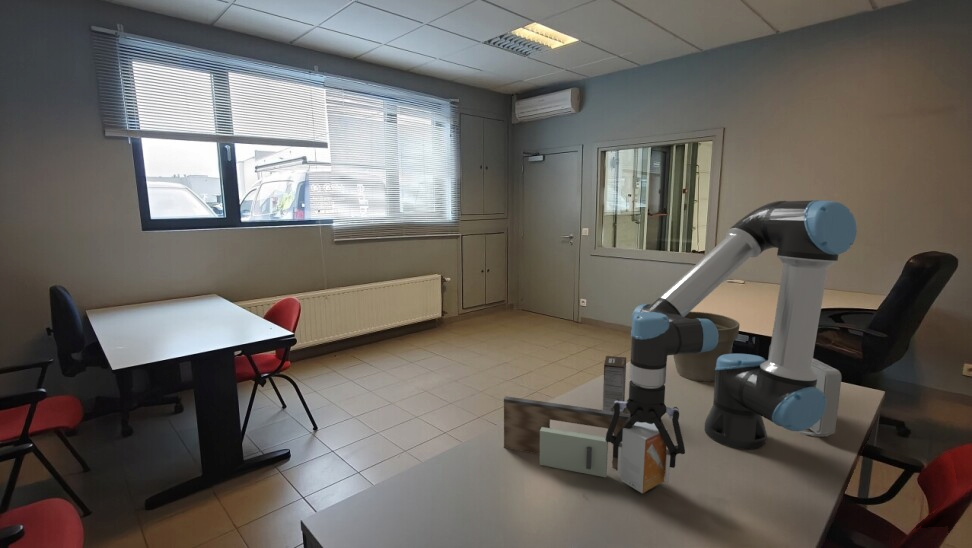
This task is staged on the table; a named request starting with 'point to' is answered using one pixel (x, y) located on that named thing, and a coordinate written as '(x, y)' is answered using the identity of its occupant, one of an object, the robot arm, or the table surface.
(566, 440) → the sliding door
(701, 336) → the robot arm
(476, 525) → the table surface
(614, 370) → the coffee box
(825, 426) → the network device
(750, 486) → the table surface
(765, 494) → the table surface
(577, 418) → the wall frame
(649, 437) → the small box
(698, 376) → the plant pot
